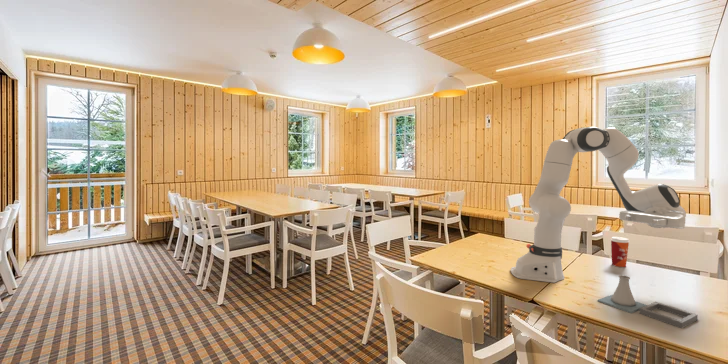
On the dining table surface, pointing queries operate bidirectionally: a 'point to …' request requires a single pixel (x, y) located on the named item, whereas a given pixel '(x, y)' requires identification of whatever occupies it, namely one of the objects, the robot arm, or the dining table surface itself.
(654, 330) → the dining table surface
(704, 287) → the dining table surface
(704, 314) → the dining table surface
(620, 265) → the paper cup
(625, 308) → the mat
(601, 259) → the dining table surface
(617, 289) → the flask
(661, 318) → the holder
